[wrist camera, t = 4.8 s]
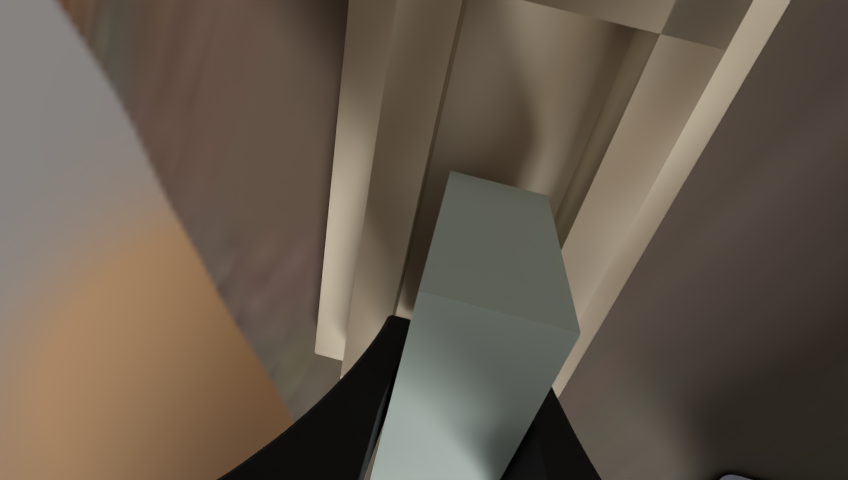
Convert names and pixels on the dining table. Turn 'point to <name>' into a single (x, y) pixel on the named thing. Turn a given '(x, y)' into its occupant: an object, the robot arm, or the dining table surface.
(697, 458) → the dining table surface
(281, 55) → the dining table surface
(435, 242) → the pale teal block
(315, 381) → the dining table surface
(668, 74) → the beige rectangular tray
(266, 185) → the dining table surface
